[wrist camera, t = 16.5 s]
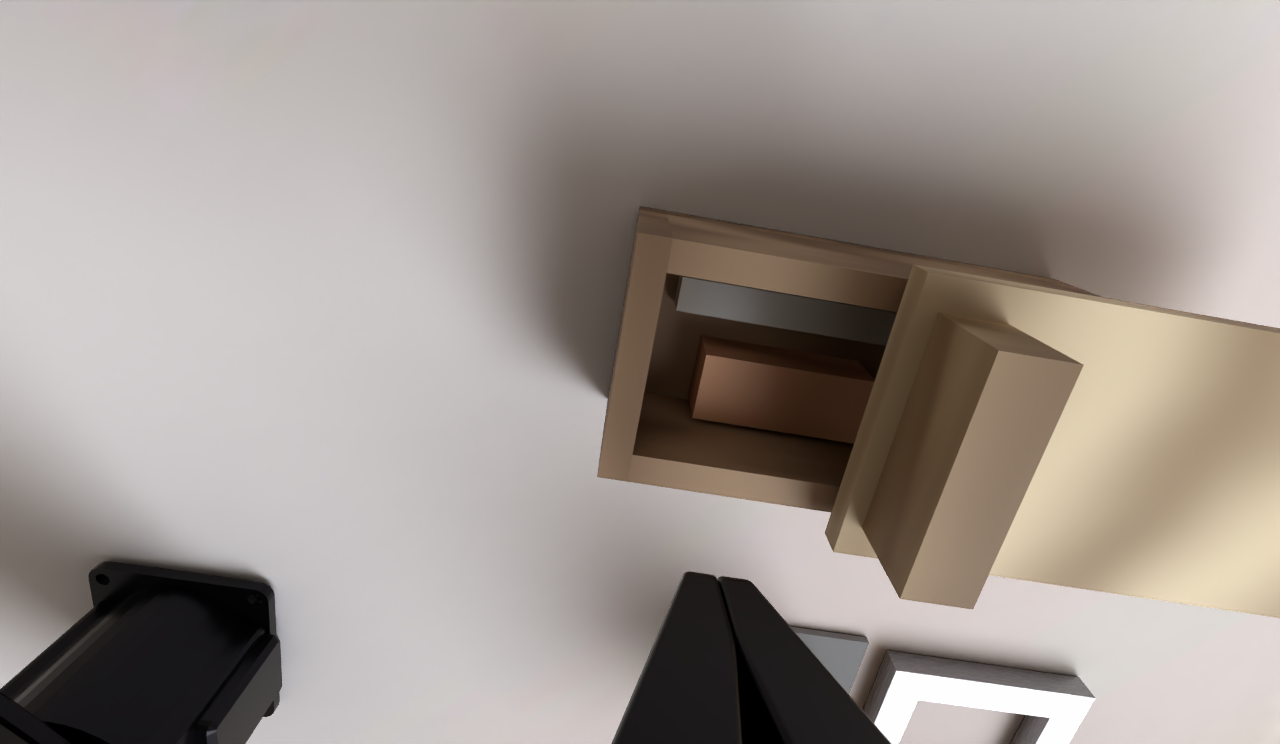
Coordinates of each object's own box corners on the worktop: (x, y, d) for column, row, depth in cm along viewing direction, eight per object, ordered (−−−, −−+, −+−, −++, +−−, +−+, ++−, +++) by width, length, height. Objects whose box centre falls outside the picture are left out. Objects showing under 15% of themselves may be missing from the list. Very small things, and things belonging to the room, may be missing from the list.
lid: (824, 532, 17) (865, 625, 14) (912, 264, 14) (988, 302, 11) (1312, 605, 17) (1455, 708, 14) (1481, 363, 15) (1700, 426, 12)
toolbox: (607, 399, 21) (597, 476, 17) (640, 206, 19) (638, 232, 14) (979, 458, 22) (1069, 548, 17) (1053, 279, 20) (1180, 326, 15)
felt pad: (686, 727, 27) (686, 733, 26) (716, 616, 24) (716, 621, 24) (824, 745, 27) (826, 752, 27) (866, 637, 25) (868, 642, 24)
